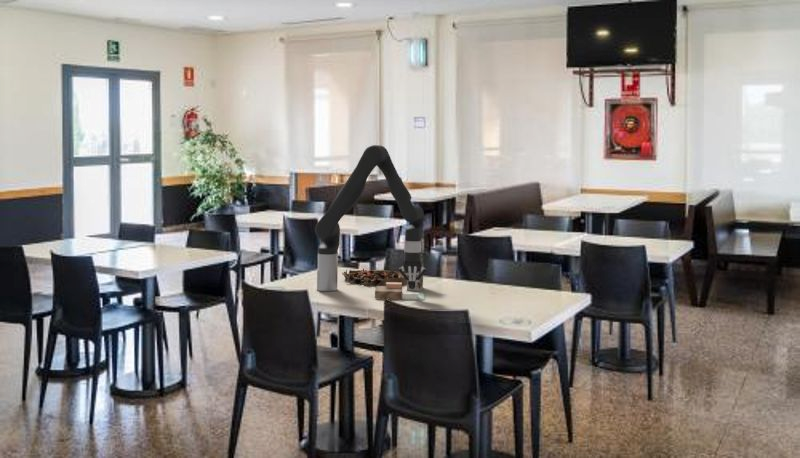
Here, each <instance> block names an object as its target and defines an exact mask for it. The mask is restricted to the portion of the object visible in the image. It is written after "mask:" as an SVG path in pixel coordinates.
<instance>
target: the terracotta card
mask: <svg viewBox="0 0 800 458" xmlns="http://www.w3.org/2000/svg"><path fill="white" fill-rule="evenodd" d="M386 288H400V289H402V290H403V286H402V283H398V282H386Z"/></svg>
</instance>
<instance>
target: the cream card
mask: <svg viewBox="0 0 800 458" xmlns="http://www.w3.org/2000/svg"><path fill="white" fill-rule="evenodd" d="M418 293H419V292H410V291H409V292H403V291H402V299H401V300H403V299H418Z"/></svg>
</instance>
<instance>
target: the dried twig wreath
mask: <svg viewBox="0 0 800 458" xmlns="http://www.w3.org/2000/svg"><path fill="white" fill-rule="evenodd" d="M404 273H405V274H406V275H407V272H404ZM341 274H342V275H343V277H344V278H345V279H344V281H345V282H346V283H347V284H350V285H354V284H360V285H359V286H362V285H364V286H363V287H376V286H386V282H398V283H402V287H404V286H407V280H406V279H405V278H404V277H403V275H402V274H401V273H400V272H399V271H395V270H386V269H385V270H382V269H381V270H380V269H376V270H375V269H372V268H370V269H369V270H368V269H365V268H364V267H363V268H362V269H360V270H359V269H357V270H352V269H350V270H349V271H348V269H346V270H345V271H343V272H342V273H341Z"/></svg>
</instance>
